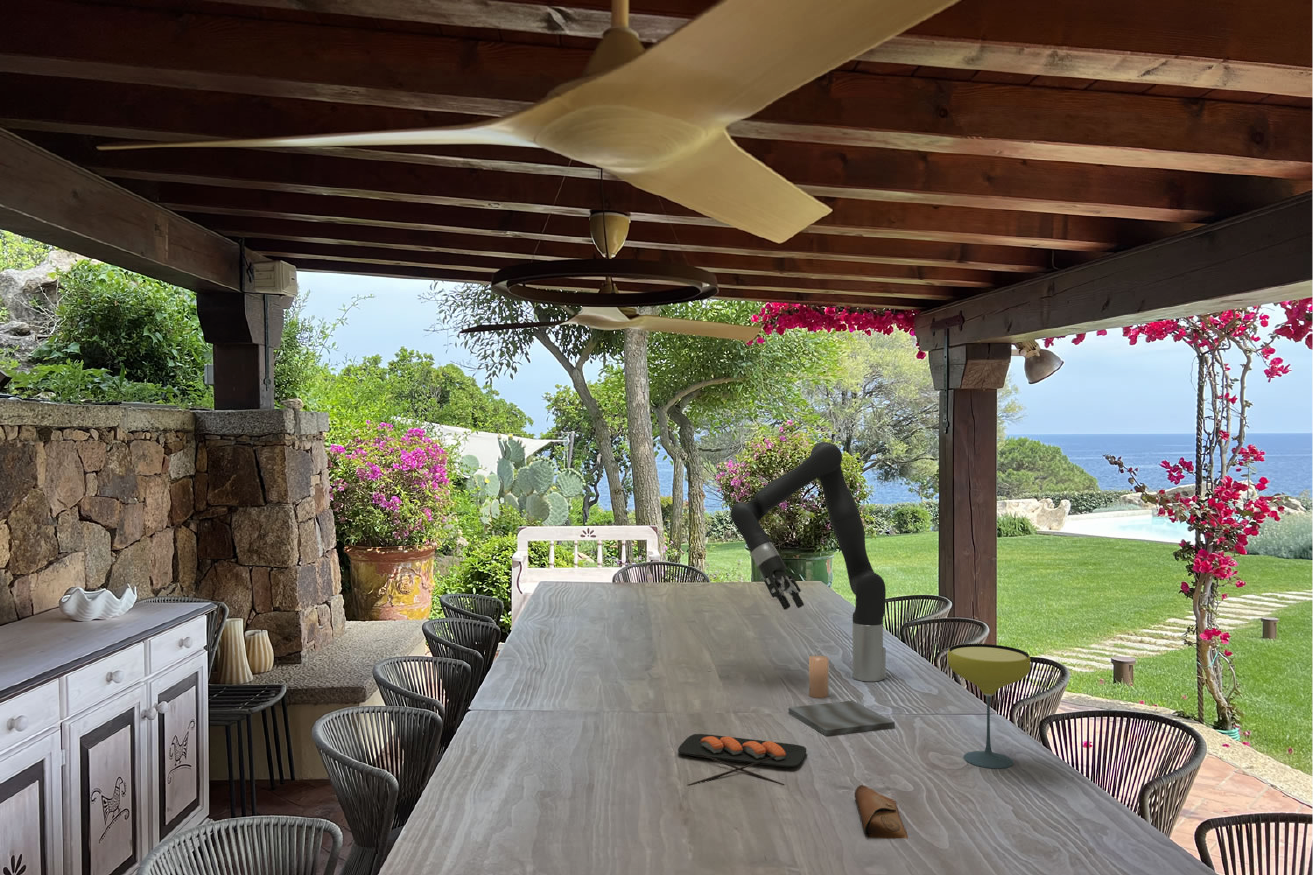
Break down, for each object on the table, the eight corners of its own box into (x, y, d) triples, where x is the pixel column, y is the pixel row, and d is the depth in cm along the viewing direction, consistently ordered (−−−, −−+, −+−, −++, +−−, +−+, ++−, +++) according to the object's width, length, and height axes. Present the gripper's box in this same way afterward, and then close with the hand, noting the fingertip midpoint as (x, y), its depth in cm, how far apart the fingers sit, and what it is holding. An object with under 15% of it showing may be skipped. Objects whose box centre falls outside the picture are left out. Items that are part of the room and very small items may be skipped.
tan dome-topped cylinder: (822, 692, 263) (822, 654, 263) (831, 697, 258) (831, 659, 258) (805, 693, 261) (805, 656, 261) (814, 699, 256) (815, 660, 256)
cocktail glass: (1022, 780, 195) (1022, 665, 195) (938, 764, 204) (938, 654, 204) (1036, 755, 210) (1036, 649, 210) (957, 741, 220) (957, 640, 220)
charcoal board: (852, 705, 249) (852, 700, 249) (894, 727, 230) (894, 721, 230) (788, 712, 243) (788, 707, 243) (826, 736, 224) (826, 730, 224)
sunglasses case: (911, 839, 166) (892, 807, 166) (878, 856, 167) (859, 825, 167) (895, 800, 184) (878, 771, 184) (865, 816, 184) (848, 788, 185)
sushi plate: (809, 753, 213) (809, 737, 213) (784, 802, 185) (784, 783, 185) (692, 740, 222) (692, 724, 222) (651, 783, 194) (651, 766, 194)
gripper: (765, 554, 266) (792, 602, 260) (788, 553, 278) (815, 599, 271) (747, 567, 270) (773, 615, 263) (770, 566, 281) (796, 612, 274)
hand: (794, 607), depth 267 cm, fingers open, 8 cm apart
